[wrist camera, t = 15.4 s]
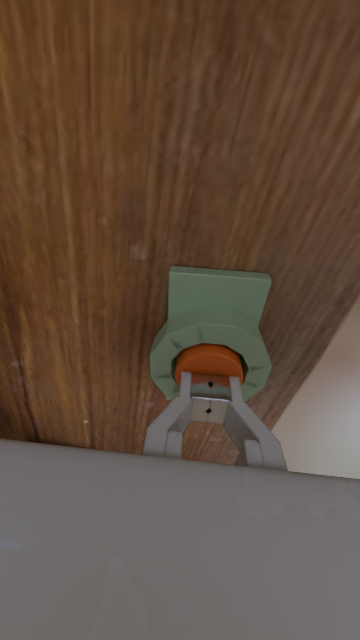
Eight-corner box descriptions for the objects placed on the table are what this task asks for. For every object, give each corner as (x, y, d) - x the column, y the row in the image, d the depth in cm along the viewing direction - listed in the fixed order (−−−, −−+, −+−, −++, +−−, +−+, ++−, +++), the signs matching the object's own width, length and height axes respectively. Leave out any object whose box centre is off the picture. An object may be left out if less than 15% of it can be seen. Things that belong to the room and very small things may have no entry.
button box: (156, 263, 12) (146, 284, 10) (283, 273, 12) (300, 297, 10) (157, 389, 18) (151, 419, 16) (242, 397, 17) (248, 429, 15)
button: (179, 329, 13) (176, 350, 11) (244, 335, 13) (250, 357, 11) (176, 374, 15) (173, 397, 13) (232, 379, 15) (236, 403, 13)
